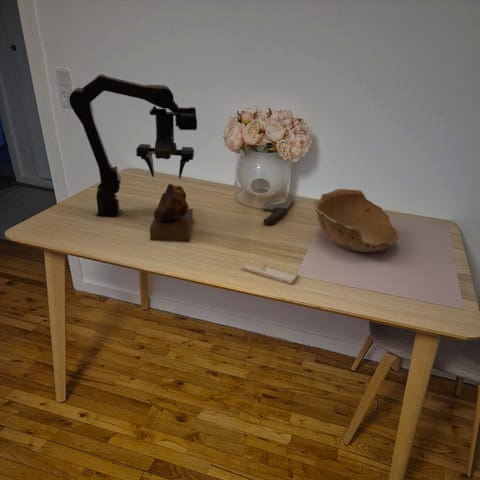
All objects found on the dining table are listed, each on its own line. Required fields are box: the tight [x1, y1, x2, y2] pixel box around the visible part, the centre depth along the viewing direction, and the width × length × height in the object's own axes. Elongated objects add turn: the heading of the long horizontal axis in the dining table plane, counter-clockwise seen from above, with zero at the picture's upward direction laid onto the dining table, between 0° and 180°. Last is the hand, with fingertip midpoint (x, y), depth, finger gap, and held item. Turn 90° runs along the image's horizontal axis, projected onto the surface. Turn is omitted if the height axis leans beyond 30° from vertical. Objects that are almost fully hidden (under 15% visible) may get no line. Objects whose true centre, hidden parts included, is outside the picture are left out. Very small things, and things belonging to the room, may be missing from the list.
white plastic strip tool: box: [243, 264, 299, 284], centre depth 125 cm, size 5×15×1 cm, turn 63°
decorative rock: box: [153, 183, 190, 221], centre depth 140 cm, size 12×6×11 cm, turn 133°
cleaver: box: [261, 197, 295, 226], centre depth 164 cm, size 29×10×2 cm, turn 162°
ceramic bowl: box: [313, 188, 400, 253], centre depth 143 cm, size 30×27×15 cm
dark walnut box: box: [149, 208, 194, 243], centre depth 145 cm, size 12×18×4 cm, turn 0°
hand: (166, 177), depth 151 cm, fingers open, 9 cm apart
